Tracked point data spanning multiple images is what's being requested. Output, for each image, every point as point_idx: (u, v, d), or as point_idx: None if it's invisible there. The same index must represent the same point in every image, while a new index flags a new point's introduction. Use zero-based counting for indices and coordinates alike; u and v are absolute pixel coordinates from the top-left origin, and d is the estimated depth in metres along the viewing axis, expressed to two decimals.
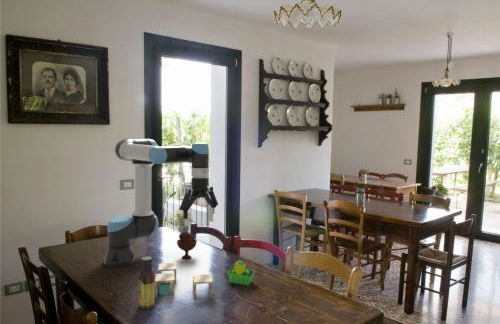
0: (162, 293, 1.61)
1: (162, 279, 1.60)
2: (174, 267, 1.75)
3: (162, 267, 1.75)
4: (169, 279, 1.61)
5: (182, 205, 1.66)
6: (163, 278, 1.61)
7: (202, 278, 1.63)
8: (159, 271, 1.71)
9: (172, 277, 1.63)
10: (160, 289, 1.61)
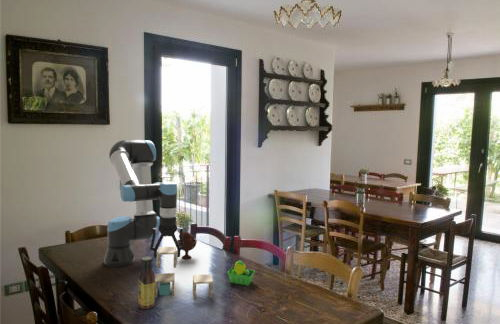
0: (162, 293, 1.61)
1: (162, 279, 1.60)
2: (174, 251, 1.74)
3: (162, 250, 1.74)
4: (169, 279, 1.61)
5: None
6: (163, 278, 1.61)
7: (202, 278, 1.63)
8: (159, 254, 1.71)
9: (172, 277, 1.63)
10: (160, 289, 1.61)
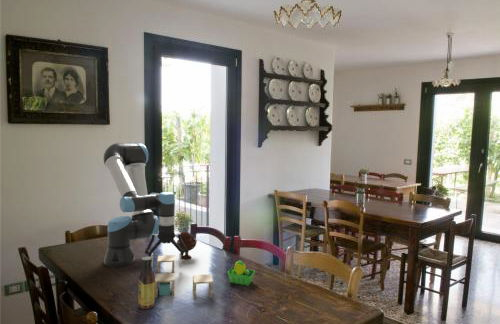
0: (162, 293, 1.61)
1: (162, 279, 1.60)
2: (172, 259, 1.86)
3: (161, 258, 1.86)
4: (169, 279, 1.61)
5: (146, 248, 1.85)
6: (163, 278, 1.61)
7: (202, 278, 1.63)
8: (158, 262, 1.83)
9: (172, 277, 1.63)
10: (160, 289, 1.61)
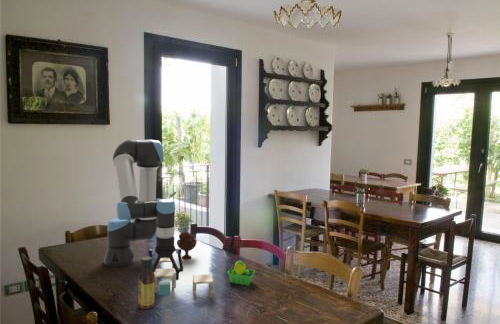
0: (162, 293, 1.61)
1: (162, 274, 1.61)
2: None
3: (161, 258, 1.86)
4: (169, 274, 1.61)
5: None
6: (163, 273, 1.62)
7: (202, 278, 1.63)
8: None
9: (172, 273, 1.63)
10: (160, 289, 1.61)
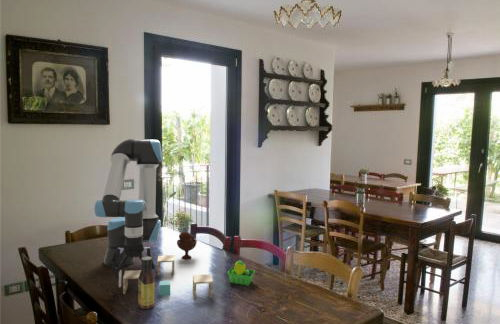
0: (162, 293, 1.61)
1: (130, 276, 1.63)
2: (172, 259, 1.86)
3: (161, 258, 1.86)
4: (137, 276, 1.63)
5: (113, 265, 1.64)
6: (131, 275, 1.64)
7: (202, 278, 1.63)
8: (158, 262, 1.83)
9: None
10: (160, 289, 1.61)
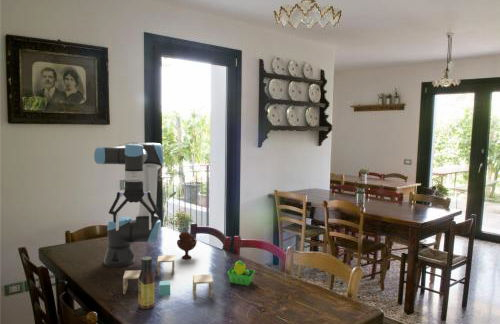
0: (162, 293, 1.61)
1: (130, 276, 1.63)
2: (172, 259, 1.86)
3: (161, 258, 1.86)
4: (137, 276, 1.63)
5: None
6: (131, 275, 1.64)
7: (202, 278, 1.63)
8: (158, 262, 1.83)
9: None
10: (160, 289, 1.61)
